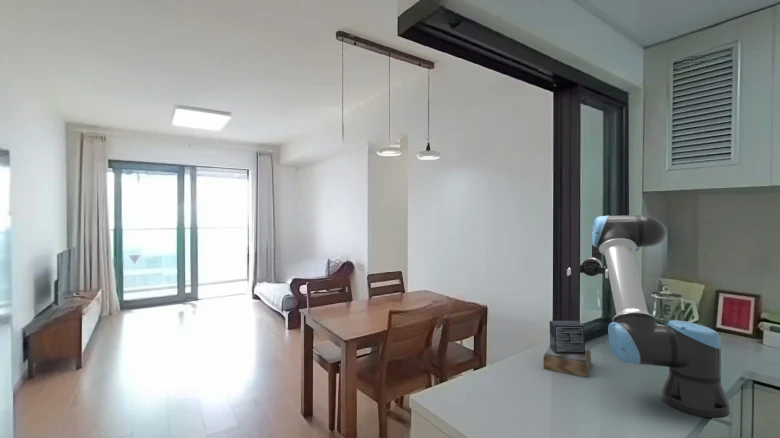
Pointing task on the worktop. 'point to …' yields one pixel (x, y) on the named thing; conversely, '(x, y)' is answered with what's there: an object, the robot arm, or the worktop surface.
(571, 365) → the base
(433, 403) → the worktop surface
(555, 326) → the small box
